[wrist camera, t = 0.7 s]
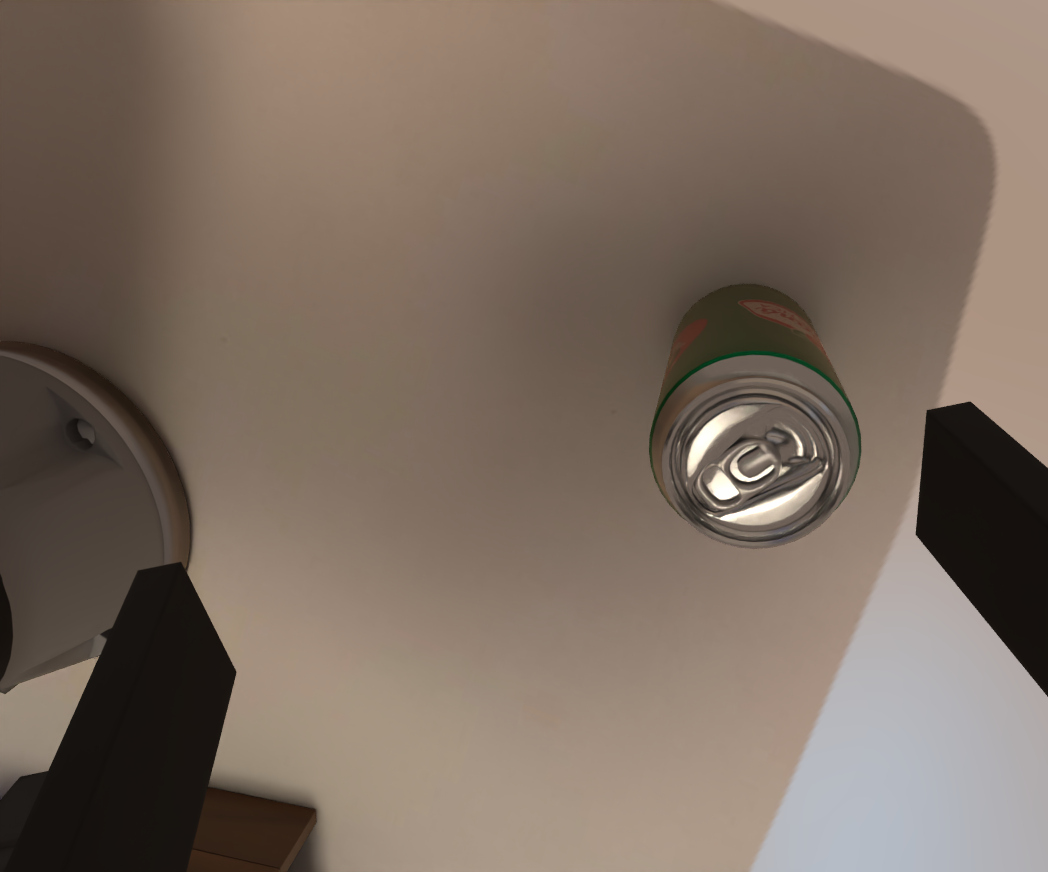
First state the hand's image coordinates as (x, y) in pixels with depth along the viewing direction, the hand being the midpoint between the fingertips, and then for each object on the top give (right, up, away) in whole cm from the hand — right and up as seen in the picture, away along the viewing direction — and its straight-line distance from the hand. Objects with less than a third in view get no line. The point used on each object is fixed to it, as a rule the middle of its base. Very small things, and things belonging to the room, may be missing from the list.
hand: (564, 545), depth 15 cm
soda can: (+7, +5, +16) cm, 18 cm away
